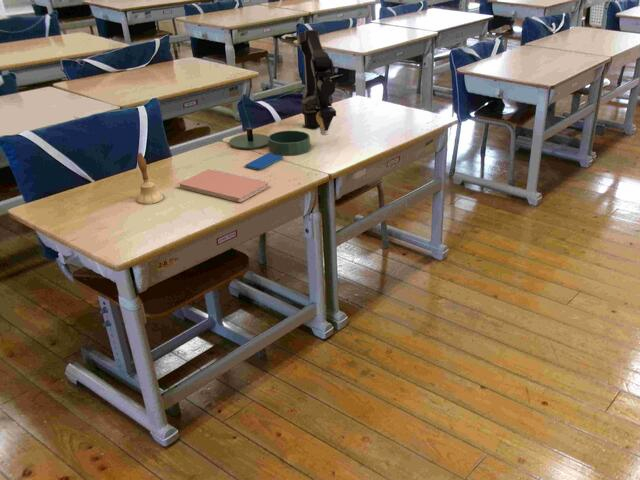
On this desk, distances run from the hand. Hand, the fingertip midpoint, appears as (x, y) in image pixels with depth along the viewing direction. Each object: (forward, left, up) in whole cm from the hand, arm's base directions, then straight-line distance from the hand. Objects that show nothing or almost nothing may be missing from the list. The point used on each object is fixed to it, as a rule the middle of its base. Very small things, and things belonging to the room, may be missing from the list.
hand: (324, 128), depth 258 cm
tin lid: (-28, -14, -7) cm, 32 cm away
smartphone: (-8, -29, -7) cm, 31 cm away
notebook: (-4, -55, -7) cm, 56 cm away
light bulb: (0, 0, -3) cm, 3 cm away
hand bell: (-18, -76, -7) cm, 78 cm away
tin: (-10, -11, -7) cm, 17 cm away
